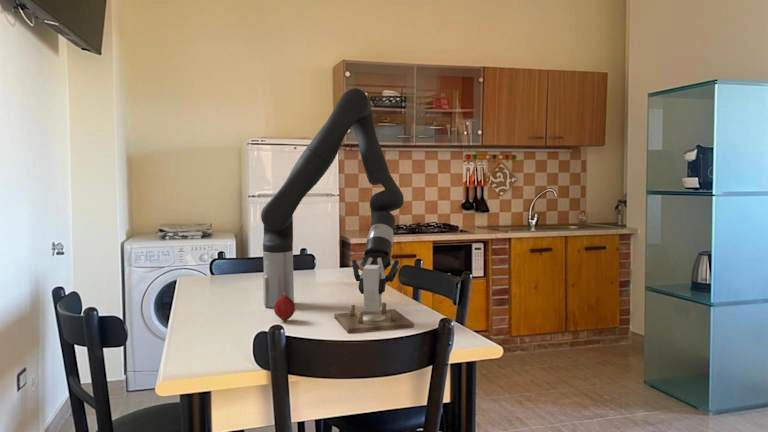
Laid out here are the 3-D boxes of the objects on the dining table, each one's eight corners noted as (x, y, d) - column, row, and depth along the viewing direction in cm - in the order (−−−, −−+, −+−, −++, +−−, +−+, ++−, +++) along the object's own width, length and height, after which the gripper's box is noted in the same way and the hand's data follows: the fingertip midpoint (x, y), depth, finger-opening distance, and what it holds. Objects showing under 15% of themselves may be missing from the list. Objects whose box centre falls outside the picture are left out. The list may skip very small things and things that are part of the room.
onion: (276, 318, 178) (276, 291, 177) (296, 318, 178) (296, 291, 177) (272, 323, 172) (271, 295, 172) (293, 323, 172) (292, 295, 171)
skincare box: (366, 306, 175) (365, 264, 174) (381, 306, 174) (381, 264, 174) (363, 311, 169) (362, 268, 168) (379, 311, 168) (378, 268, 168)
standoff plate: (348, 333, 161) (347, 317, 160) (334, 317, 178) (333, 303, 178) (413, 327, 166) (413, 311, 165) (394, 313, 183) (394, 299, 183)
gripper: (353, 235, 179) (342, 284, 168) (401, 235, 176) (394, 285, 165) (358, 251, 185) (348, 299, 174) (405, 251, 182) (398, 300, 171)
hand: (371, 292), depth 169 cm, fingers closed on skincare box, 4 cm apart
